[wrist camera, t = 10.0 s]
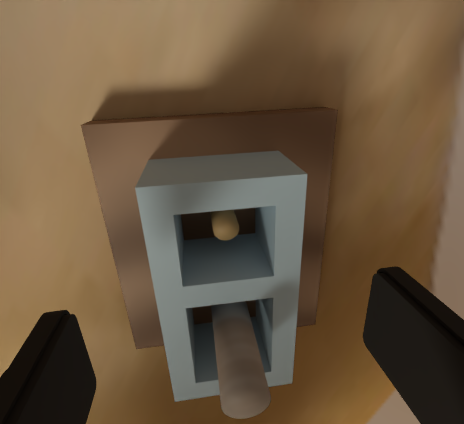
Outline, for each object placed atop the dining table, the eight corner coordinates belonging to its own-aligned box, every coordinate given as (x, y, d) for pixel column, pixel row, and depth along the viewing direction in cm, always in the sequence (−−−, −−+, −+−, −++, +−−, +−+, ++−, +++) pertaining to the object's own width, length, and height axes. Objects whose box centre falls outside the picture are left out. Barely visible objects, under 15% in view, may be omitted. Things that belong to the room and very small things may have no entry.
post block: (307, 308, 22) (373, 435, 14) (139, 331, 20) (110, 484, 13) (324, 107, 16) (454, 134, 8) (90, 120, 14) (-19, 169, 7)
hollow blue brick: (273, 327, 20) (292, 383, 16) (177, 340, 19) (174, 401, 16) (278, 150, 15) (307, 173, 11) (148, 159, 14) (135, 187, 11)
